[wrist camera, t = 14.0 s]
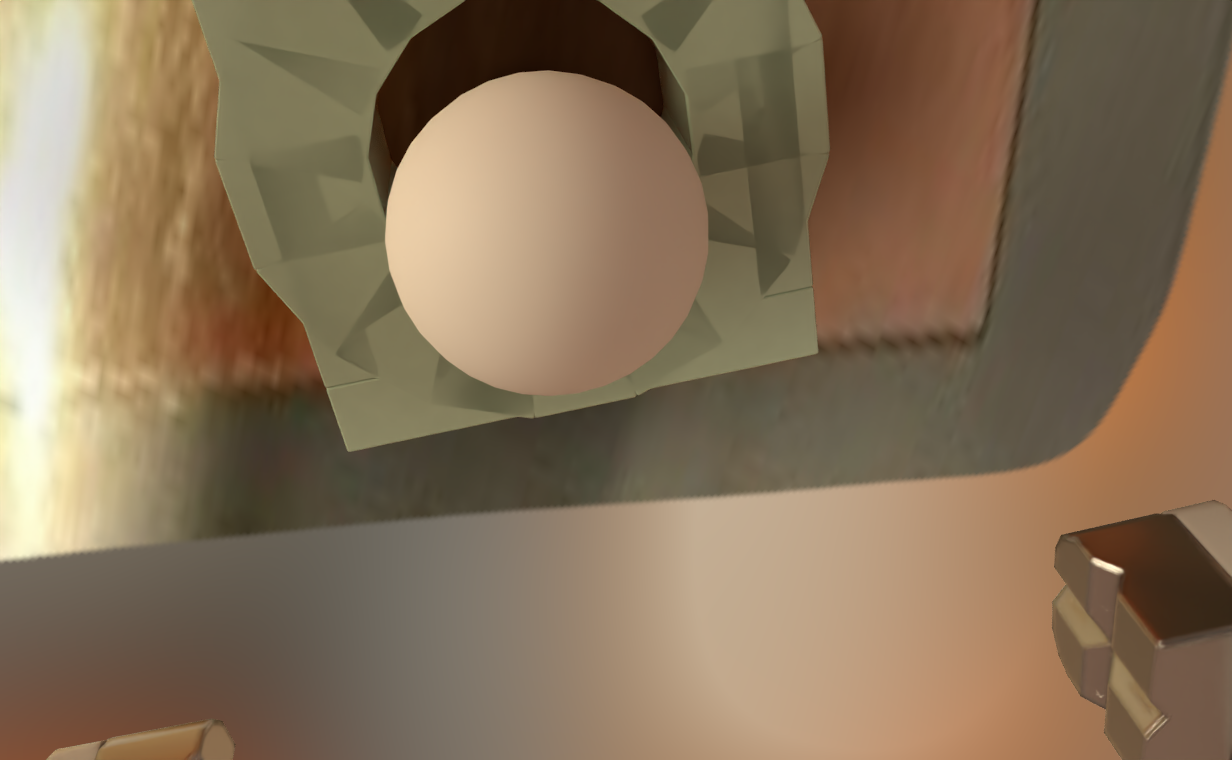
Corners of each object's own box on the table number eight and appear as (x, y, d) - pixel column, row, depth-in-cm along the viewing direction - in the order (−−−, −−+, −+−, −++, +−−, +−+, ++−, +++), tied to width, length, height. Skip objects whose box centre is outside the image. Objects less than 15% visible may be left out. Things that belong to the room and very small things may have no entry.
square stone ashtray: (162, -130, 25) (117, -109, 21) (755, -245, 25) (805, -241, 22) (336, 384, 31) (323, 463, 28) (801, 287, 32) (844, 354, 28)
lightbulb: (691, 119, 29) (811, 304, 20) (520, 273, 31) (555, 515, 21) (526, -67, 26) (573, 43, 17) (346, 112, 28) (298, 307, 18)
